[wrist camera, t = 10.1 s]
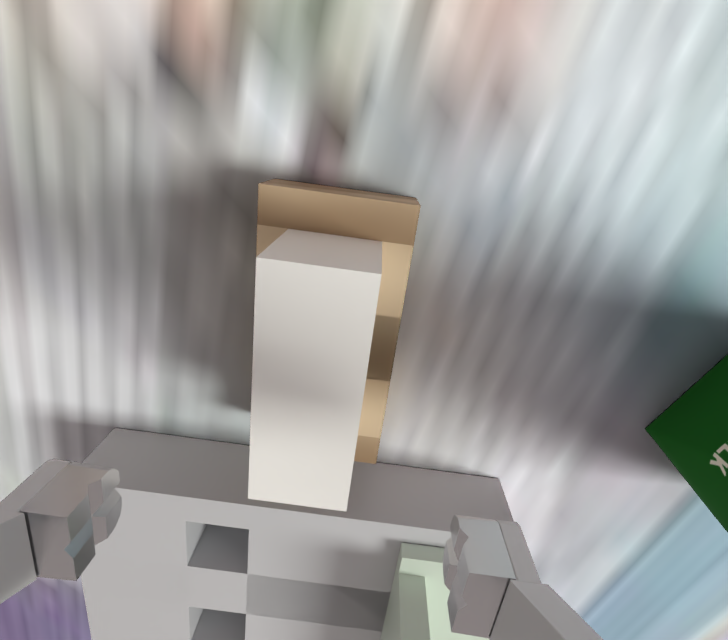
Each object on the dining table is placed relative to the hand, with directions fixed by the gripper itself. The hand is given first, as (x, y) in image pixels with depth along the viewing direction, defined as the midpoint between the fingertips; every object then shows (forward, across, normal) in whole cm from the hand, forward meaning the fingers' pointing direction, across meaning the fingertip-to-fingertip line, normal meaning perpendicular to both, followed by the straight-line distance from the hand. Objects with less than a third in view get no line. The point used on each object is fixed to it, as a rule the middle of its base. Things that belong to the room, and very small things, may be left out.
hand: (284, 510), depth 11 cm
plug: (+11, 0, -1) cm, 11 cm away
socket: (+11, +1, +13) cm, 17 cm away
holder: (+11, 0, -1) cm, 11 cm away
